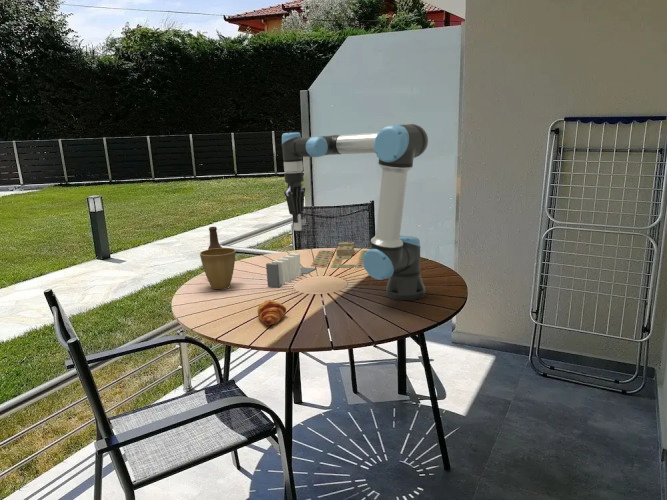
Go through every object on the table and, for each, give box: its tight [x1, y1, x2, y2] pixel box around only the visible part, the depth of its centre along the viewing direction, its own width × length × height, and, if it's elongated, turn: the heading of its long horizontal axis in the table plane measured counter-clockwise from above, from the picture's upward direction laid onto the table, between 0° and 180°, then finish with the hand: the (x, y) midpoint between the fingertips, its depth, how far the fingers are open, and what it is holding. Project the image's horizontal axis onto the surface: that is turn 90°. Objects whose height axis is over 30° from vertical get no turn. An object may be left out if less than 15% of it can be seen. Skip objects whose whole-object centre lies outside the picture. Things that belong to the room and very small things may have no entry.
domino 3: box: [277, 257, 292, 283], centre depth 226 cm, size 2×5×10 cm, turn 63°
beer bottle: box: [207, 226, 223, 250], centre depth 233 cm, size 8×8×24 cm
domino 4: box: [282, 255, 297, 280], centre depth 230 cm, size 2×5×10 cm, turn 63°
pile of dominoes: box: [310, 241, 369, 269], centre depth 260 cm, size 35×27×6 cm
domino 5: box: [287, 252, 302, 277], centre depth 234 cm, size 2×5×10 cm, turn 63°
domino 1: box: [265, 262, 281, 289], centre depth 218 cm, size 2×5×10 cm, turn 63°
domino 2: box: [271, 260, 286, 286], centre depth 222 cm, size 2×5×10 cm, turn 63°
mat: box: [301, 266, 317, 275], centre depth 241 cm, size 9×8×1 cm
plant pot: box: [199, 247, 237, 290], centre depth 220 cm, size 15×15×16 cm
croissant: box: [257, 299, 287, 326], centre depth 183 cm, size 21×10×8 cm, turn 4°
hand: (297, 230), depth 211 cm, fingers closed
